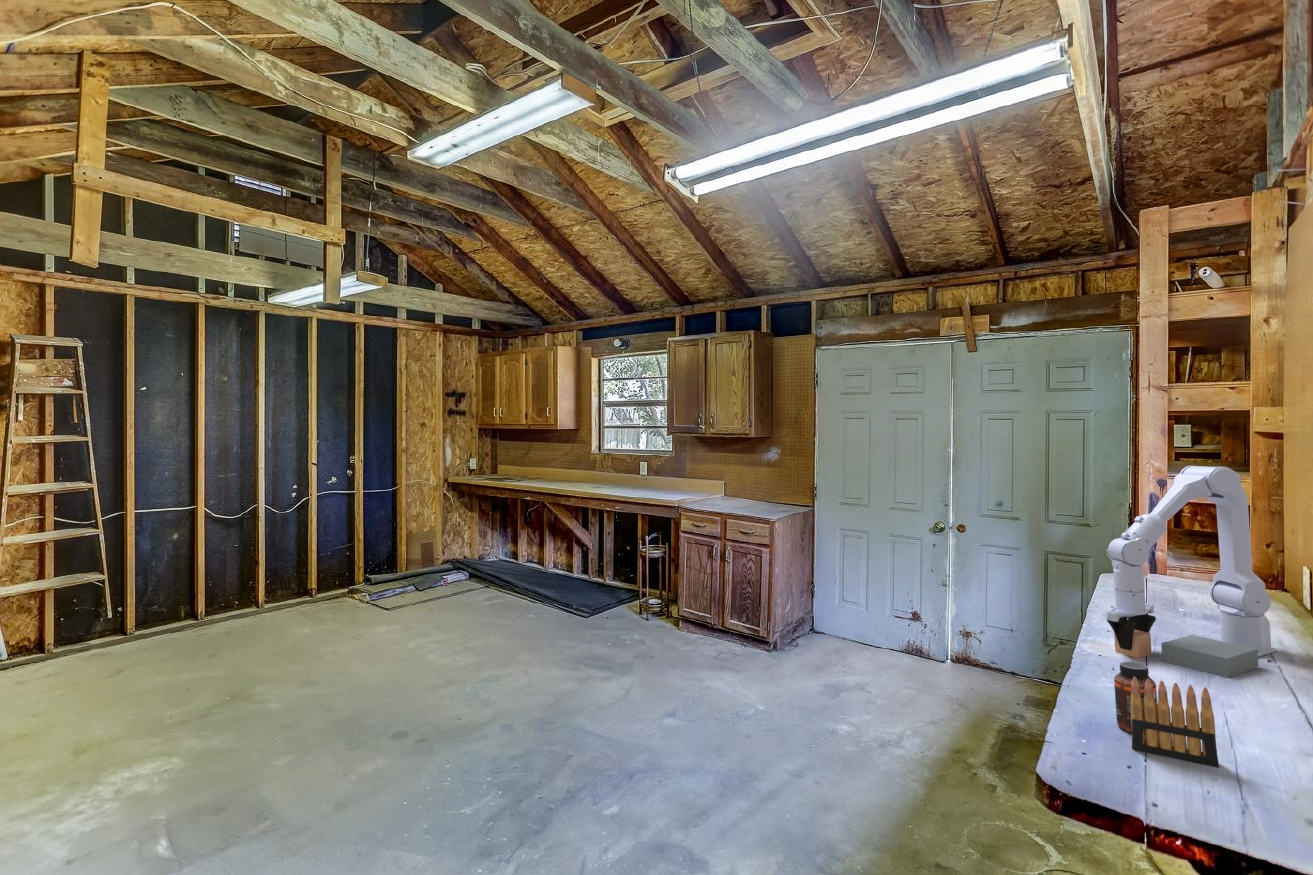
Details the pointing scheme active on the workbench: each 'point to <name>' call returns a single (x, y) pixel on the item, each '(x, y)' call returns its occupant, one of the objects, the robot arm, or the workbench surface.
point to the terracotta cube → (1137, 645)
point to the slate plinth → (1210, 655)
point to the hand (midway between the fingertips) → (1133, 647)
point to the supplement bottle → (1124, 691)
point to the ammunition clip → (1173, 724)
